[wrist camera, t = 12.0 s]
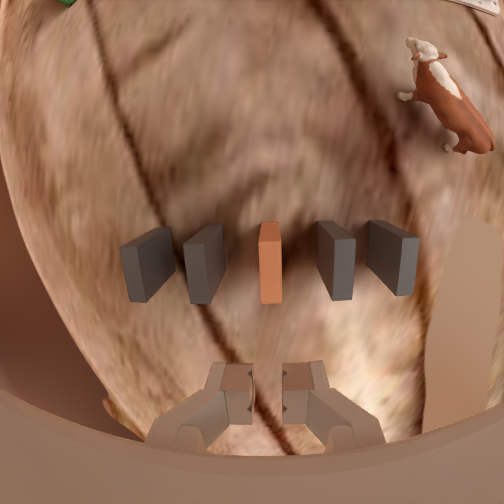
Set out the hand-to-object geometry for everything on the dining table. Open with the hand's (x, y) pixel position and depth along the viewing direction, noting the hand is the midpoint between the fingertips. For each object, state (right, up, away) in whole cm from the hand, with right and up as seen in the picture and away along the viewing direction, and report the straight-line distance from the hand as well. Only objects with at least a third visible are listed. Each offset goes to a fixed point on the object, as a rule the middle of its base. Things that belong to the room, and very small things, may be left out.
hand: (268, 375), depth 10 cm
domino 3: (+1, +5, +18) cm, 19 cm away
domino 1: (-10, +5, +19) cm, 22 cm away
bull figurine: (+18, +20, +13) cm, 30 cm away
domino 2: (-4, +5, +19) cm, 20 cm away
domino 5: (+12, +6, +18) cm, 22 cm away
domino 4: (+7, +5, +18) cm, 20 cm away
